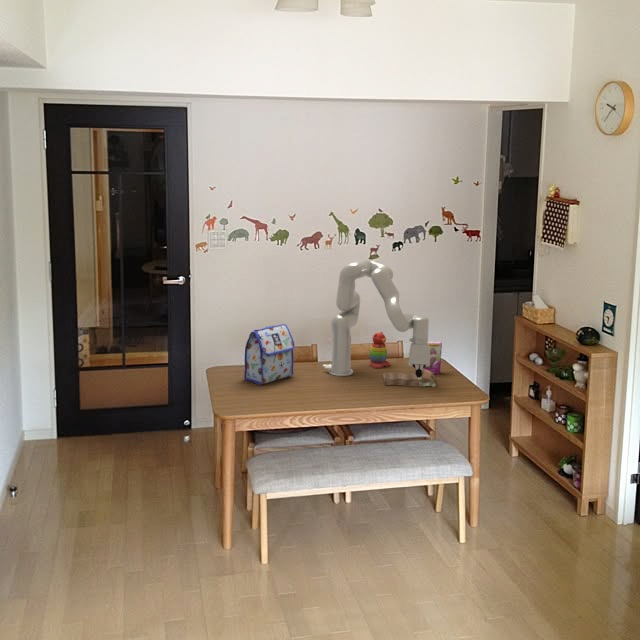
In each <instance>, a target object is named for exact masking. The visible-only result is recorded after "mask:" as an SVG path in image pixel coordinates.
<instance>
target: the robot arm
mask: <svg viewBox="0 0 640 640" xmlns="http://www.w3.org/2000/svg"><path fill="white" fill-rule="evenodd" d="M365 277H368V278H370V279H371V280H372V283H373V285H374V287H375V288H376V290H377V291H378V293H379V295H380V297H381V298H382V301H383V303H384V308H385V312H386V314H387V316H388V318H389V320H390V322H391V324H392V326H393V327H394V328H395V330H396V331H398V332H401V333H405V332H407V331H408V330H411V329H412V338H409V340H408V341H409V342H411V343H410V347H409V352H408V353H409V354H408V364H407V366H409V367H412V368H414V369H415V372H414V374H415V375H416V376H417V378H420V376H422V370H423V368H424V367H426V366H430V346H429V344H428V339H429V326H430V325H429V322H430V320H429V317H427V316H425V315H415V314H413V313H403V311H402V309H401V307H400V292H399V289H398V288H397V287H396V285H395V284H394V281H393V278H394V272H393V271H392V269H391V268H390V267H389V266H387V265H384V264H382V263H379V262H377V261H373V260H372V259H371V260H370V259H366V258H365V259H364V258H363V259H359V260H356V261H353V262H350V263H348V264H346V265H345V266H344V267H342V269H341V270H340V273H339V277H338V287H337V293H336V298H335V300H336V301H335V304H336V305H335V306H336V307H337V310H339V311H341V312H339V313H337V314H335V315H334V316H333V318H332V320H331V323H330V325H331V327H330V328H331V334H332V335H331V337H332V338H331V339H332V342H331V343H332V346H331V351H332V352H331V356H332V357H331V363H329V364H323V365H322V368H323V369H325V370H328V373H329V375H331V376H335V377H348V376H351V375H353V374H354V370H353V369H352V368H351V359H352V358H351V357H352V356H351V354H352V351H351V350H352V336H351V335H352V334H351V329H352V328H353V327H355V326H356V324H357V323H358V319H359V314H360V307H361V296H360V295H359V294H360V293H359V292H358V291H356V290H355V289H356V280H357V279H362V278H365ZM419 365H420V368H419Z"/></svg>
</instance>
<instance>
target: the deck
mask: <svg viewBox="0 0 640 640" xmlns="http://www.w3.org/2000/svg"><path fill="white" fill-rule="evenodd" d="M431 373H432V375H431V377H430V379H424V378H423V379H422V378H421V377H420V378H417V376H416V375H415V373H404V372H403V373H400V372H398V373H397V372H393V373H392V372H383V373H382V377H383V378H384V379H383V378H382V379H383V383H384V384H385V385H403V386H402V387H425V386H432V388H434V387H435V388H436V384H437V379H436V376H435V374H433V371H431ZM385 385H384V386H385Z"/></svg>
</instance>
